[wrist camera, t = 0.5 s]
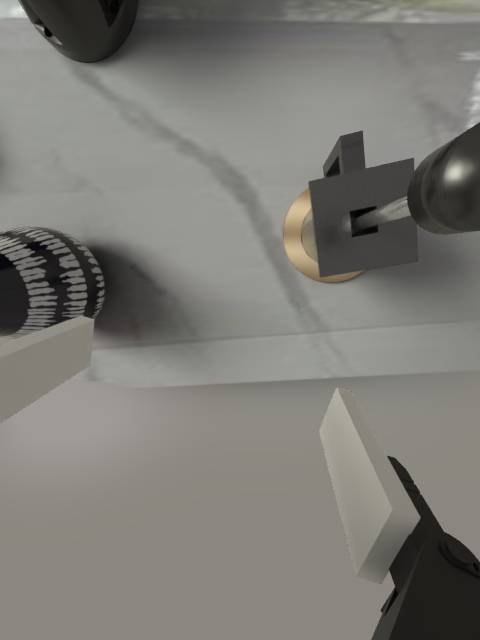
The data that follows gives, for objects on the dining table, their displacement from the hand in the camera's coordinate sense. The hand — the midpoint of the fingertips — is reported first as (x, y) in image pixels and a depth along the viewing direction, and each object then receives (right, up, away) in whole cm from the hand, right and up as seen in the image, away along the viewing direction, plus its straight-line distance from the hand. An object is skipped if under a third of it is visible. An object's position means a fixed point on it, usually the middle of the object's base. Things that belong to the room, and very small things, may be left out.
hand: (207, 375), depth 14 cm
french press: (+15, +17, +23) cm, 32 cm away
